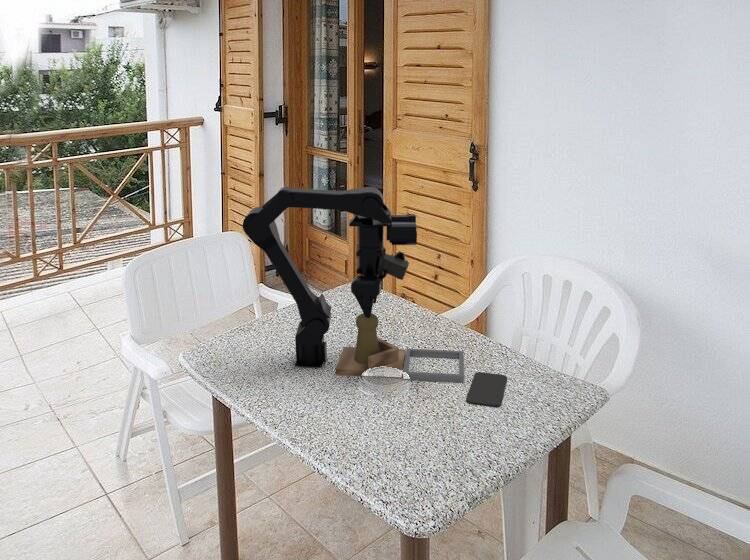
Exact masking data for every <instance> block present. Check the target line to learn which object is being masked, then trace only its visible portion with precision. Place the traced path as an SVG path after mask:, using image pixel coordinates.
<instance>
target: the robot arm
mask: <svg viewBox="0 0 750 560" xmlns="http://www.w3.org/2000/svg"><path fill="white" fill-rule="evenodd" d="M288 208H300V209H314V210H316V209H317V210H331V211H334V210H335V211H343V212H346V213H349V214H352V215H354V216H353V217H352V218H350V219H349V223H348V226H349V227H357V249H356V252H355V253H356V254H355V256H356V257H357V268H356V274H357V275H356V276H355V277H354V278H353V279H352V281H351V283H350V292H351V293H352V295H353V296H354V297H355V299H356V301H357V303H358V305H359V307H360V308H361V311H362V313H364V315H365V317H366V318H370V317H371V313H372V311H373V306H374V304H376V303H377V299H378V296H379V295H380V294H381V291H382V280H383V279H385V278H386V277H387V275H390V276H392V277H395V278H396V279H398V280H400V281H401V280H404V278H405V276H406V273H407V270H408V268H409V264H410V263H409V261H408V259H406V256H405V255H406V254H405V252H403V251H397V252H396V253H395V254H393V253H391V254H388V253H387V251H386V250H387V249H386V248H385V246H384V227H386V241H388V243H389V244H390V245H391V246H417V243H418V230H417V215H416V214H415V213H410V214H392V211H391V210H390V209H389V208H388V207H387V205H386V204H385V202H384V195H383V193H382V192H381V190H380V189H378V188H377V187H374V186H366V187H365V186H364V187H356V188H355V187H354V188H352V189H346V190H333V189H330V190H328V189H318V188H317V189H314V188H301V187H300V188H298V187H297V188H296V187H295V188H294V187H290V186H283V187H281V188H279V190H278V191H277V193H276V194H275V195H273V196H272V197H271V198H270V199H268V200H267V201H266V202H265V203H264V204H263V205H262V206H256V207H253V208H252V209H251V210H250V211H249V212H248V213H247V214H246V216H245V217H244V219H243V222H242V230H243V232H244V233H245V235H246V236H247V237H248V238H249V239H250V241H252V243H253V244H254V245H255V246H257V247H258V248H259V249H261V250H262V251H263V252H264V253H265V255H266V256H267V258H268V259H269V261H270V263H271V264H272V265H273V267H274V269H275V271H276V273H277V275H278V276H279V278H280V279H281V281H282V282H283V284H284V286H285V287H286V289H287V290H288V292H289V293H290V295H291V297H292V299H294V300H293V301H295V303H296V306H297V309H298V314H299V318H300V319H301V321H299V323H298V326H297V329H296V333H295V335H294V336H295V337H294V338H295V341H294V343H295V361H294V367H298V368H299V367H301V368H303V367H304V368H323V366H324V363H325V362H326V361H327V358H328V348H327V346H328V344H327V341H325V334H327V333H328V332H329V329H330V325H331V319H332V306H331V305H329V303H328V302H327V301H326V300H327V299H326V298H325V295H324V294H323V293H321V294H320V295H319V296H317V295H316V294H315V293H313V292H312V290H311V289H310V287H309V285H308V284H307V282H306V280H305V278H304V277H303V275H302V274H301V272H300V270H299V269H298V267H297V265H296V263H295V262H294V261H293V259H292V257H291V256H290V254H289V252H288V251H287V249H286V247H285V245H284V244H283V243H282V240H281V237H280V234H279V230H278V226H277V223H276V220H277V218H278V217H279V216H280V215H282V214H283V213H284V212H285V210H287V209H288ZM358 274H360V275H358Z"/></svg>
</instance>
